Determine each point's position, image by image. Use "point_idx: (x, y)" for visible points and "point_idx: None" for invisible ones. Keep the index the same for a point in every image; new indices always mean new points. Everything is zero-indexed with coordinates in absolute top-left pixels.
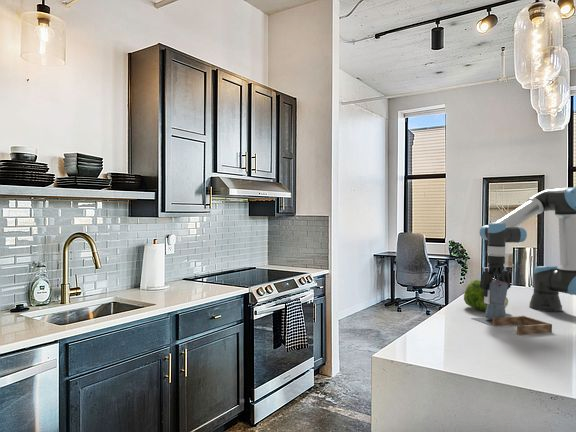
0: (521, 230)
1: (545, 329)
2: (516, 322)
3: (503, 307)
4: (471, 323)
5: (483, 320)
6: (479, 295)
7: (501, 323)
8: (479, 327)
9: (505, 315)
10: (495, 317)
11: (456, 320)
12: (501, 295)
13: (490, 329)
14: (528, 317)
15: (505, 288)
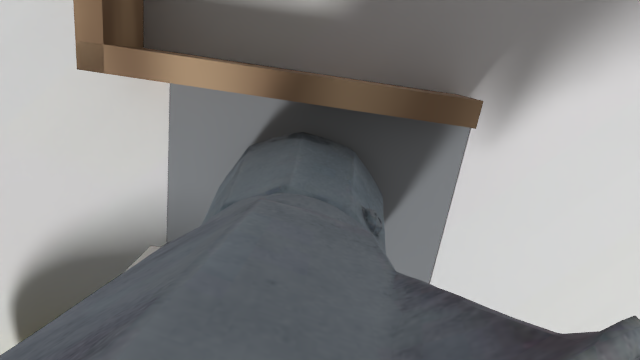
0: None
1: None
2: (215, 59)
3: (273, 175)
4: (550, 225)
5: (389, 243)
6: None
7: (386, 84)
8: (614, 115)
9: (250, 154)
10: (364, 172)
11: (571, 322)
12: (322, 241)
13: (592, 31)
14: None
15: (203, 293)
